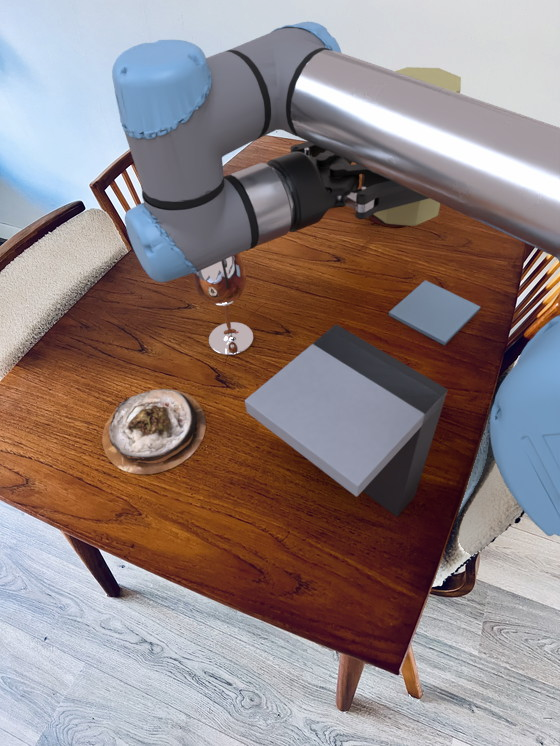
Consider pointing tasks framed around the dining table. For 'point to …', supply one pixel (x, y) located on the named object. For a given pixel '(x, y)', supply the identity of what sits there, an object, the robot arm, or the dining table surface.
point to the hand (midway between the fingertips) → (442, 136)
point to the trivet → (434, 312)
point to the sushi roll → (153, 431)
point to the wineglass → (225, 303)
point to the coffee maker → (354, 415)
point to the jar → (428, 207)
